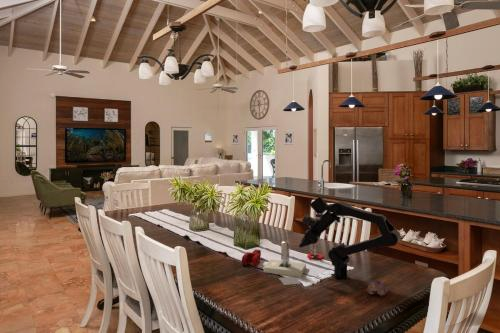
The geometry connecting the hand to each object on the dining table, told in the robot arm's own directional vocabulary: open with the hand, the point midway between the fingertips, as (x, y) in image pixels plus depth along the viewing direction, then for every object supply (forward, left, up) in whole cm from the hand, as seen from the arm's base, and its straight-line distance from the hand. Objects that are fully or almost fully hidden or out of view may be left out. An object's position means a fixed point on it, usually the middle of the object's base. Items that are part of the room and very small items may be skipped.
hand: (300, 243), depth 167 cm
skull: (-30, -23, -14) cm, 40 cm away
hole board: (+4, +7, -14) cm, 15 cm away
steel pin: (+3, +6, -14) cm, 15 cm away
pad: (-9, +9, -14) cm, 19 cm away
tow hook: (+19, -15, -14) cm, 28 cm away
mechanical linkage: (+19, +18, -14) cm, 30 cm away
